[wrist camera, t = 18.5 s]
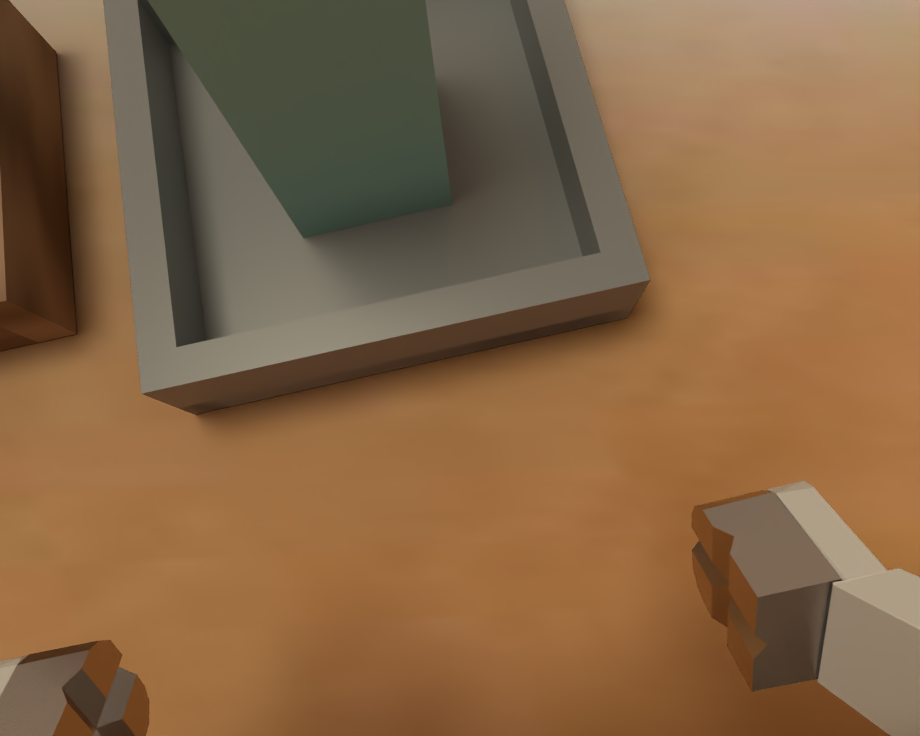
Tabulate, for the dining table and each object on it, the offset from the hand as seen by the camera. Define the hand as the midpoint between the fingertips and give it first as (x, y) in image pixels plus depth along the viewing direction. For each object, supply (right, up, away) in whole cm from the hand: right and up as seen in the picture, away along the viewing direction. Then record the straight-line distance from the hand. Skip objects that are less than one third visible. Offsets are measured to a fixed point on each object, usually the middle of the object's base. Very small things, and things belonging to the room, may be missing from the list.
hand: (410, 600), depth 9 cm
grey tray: (-2, +9, +12) cm, 15 cm away
